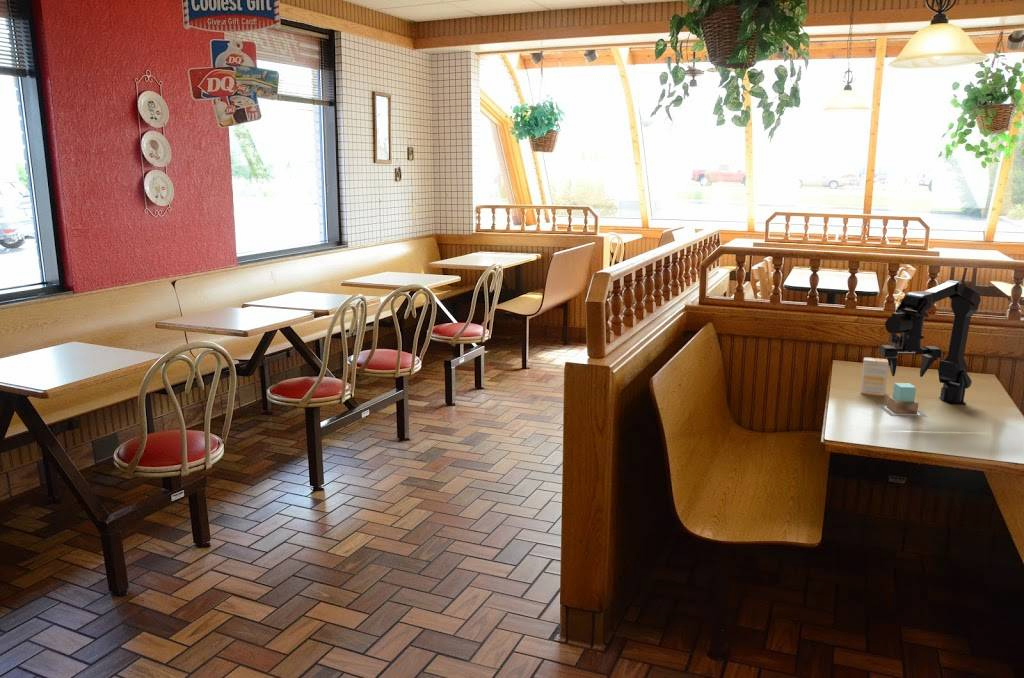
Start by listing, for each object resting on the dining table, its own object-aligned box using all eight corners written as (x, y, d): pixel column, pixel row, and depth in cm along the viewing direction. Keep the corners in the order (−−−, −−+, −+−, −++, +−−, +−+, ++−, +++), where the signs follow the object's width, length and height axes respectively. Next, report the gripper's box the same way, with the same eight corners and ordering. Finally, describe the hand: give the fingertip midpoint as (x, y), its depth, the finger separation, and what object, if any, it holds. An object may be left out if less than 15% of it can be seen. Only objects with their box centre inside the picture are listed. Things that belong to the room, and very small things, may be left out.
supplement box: (884, 394, 288) (888, 359, 285) (884, 397, 284) (888, 362, 281) (860, 391, 292) (863, 356, 289) (859, 394, 287) (863, 359, 284)
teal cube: (907, 397, 270) (909, 383, 268) (914, 401, 265) (916, 387, 264) (892, 397, 270) (894, 382, 269) (898, 401, 265) (900, 387, 264)
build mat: (911, 406, 274) (911, 405, 274) (927, 417, 262) (928, 416, 262) (876, 405, 274) (876, 404, 274) (890, 417, 263) (891, 415, 263)
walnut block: (907, 407, 271) (909, 396, 271) (916, 414, 265) (918, 402, 264) (886, 407, 272) (888, 395, 271) (895, 413, 265) (897, 402, 264)
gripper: (930, 326, 270) (924, 370, 273) (874, 325, 271) (869, 369, 274) (946, 333, 259) (939, 379, 263) (887, 332, 260) (882, 378, 263)
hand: (907, 376), depth 266 cm, fingers open, 9 cm apart
